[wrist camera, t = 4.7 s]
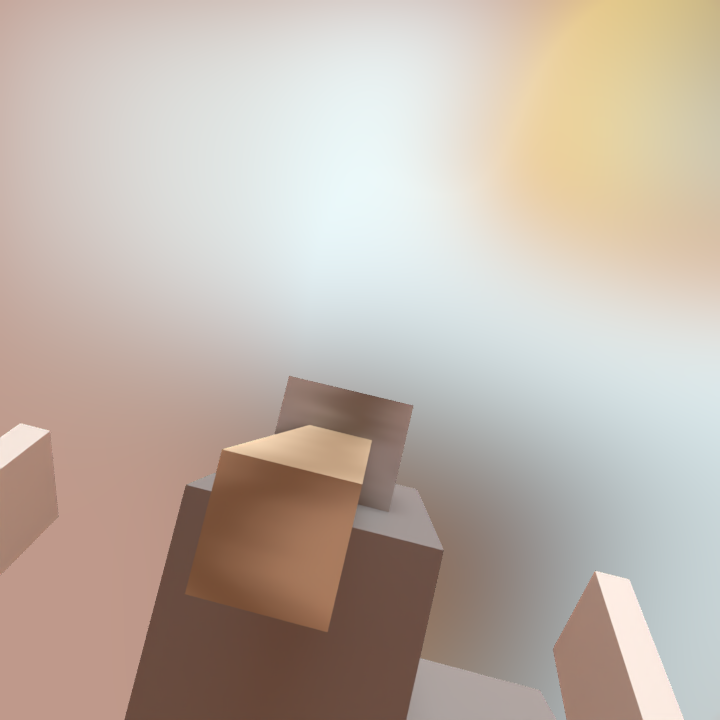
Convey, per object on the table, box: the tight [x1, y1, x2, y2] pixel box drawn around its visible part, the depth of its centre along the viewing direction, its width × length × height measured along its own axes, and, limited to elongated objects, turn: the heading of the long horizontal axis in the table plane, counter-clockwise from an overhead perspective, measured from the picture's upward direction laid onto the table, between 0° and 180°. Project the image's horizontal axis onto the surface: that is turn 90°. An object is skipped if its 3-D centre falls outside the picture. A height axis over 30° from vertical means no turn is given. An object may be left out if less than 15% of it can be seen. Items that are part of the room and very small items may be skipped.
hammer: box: [185, 376, 413, 632], centre depth 20 cm, size 6×18×5 cm, turn 177°
